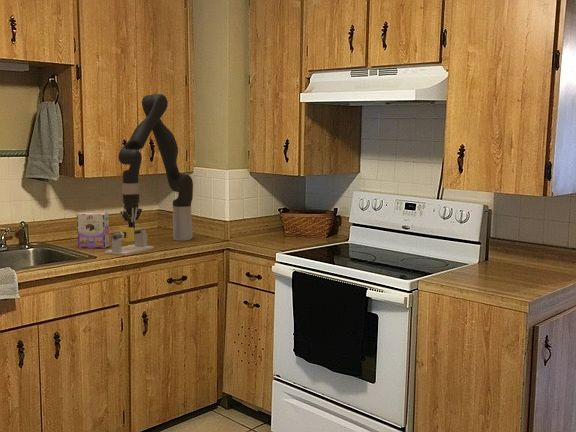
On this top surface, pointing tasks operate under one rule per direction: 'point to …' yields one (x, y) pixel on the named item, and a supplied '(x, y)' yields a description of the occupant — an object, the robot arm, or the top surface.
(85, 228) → the candy box
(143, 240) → the stand
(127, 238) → the marker sleeve
